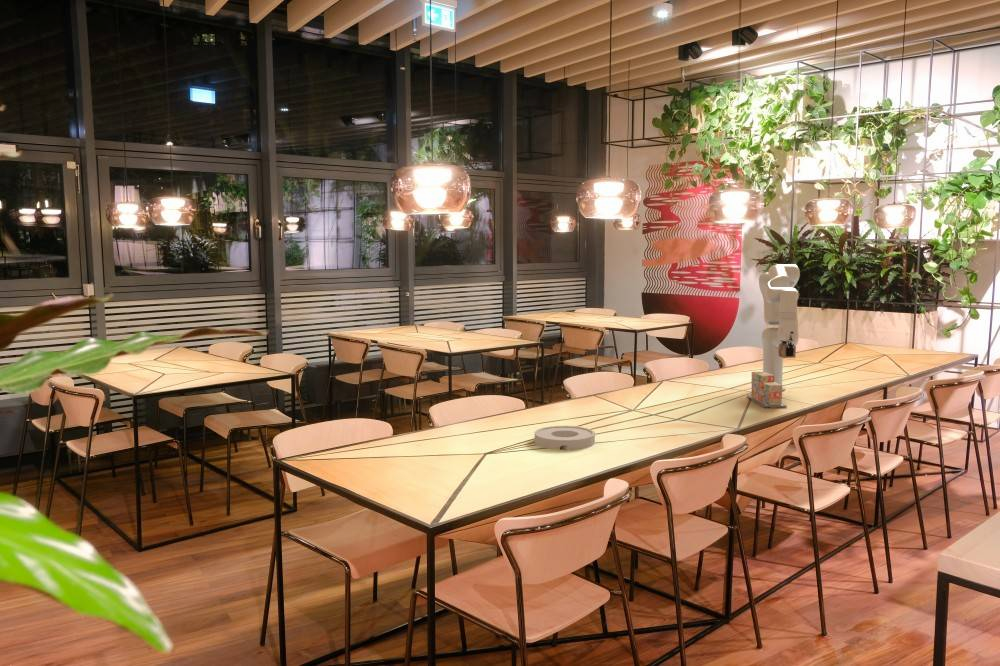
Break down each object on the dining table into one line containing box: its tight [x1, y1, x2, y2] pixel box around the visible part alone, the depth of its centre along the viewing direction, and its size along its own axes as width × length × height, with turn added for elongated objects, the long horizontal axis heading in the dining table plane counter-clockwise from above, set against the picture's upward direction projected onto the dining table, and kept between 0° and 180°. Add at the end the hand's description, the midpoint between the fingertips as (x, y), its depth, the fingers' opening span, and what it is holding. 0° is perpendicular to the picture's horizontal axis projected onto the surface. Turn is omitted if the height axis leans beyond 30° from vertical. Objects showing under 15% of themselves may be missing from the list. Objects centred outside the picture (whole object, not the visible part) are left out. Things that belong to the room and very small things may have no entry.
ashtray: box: [534, 425, 596, 451], centre depth 296 cm, size 23×23×4 cm
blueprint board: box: [746, 395, 788, 408], centre depth 363 cm, size 25×10×1 cm, turn 0°
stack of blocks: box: [750, 371, 783, 405], centre depth 362 cm, size 21×6×12 cm, turn 3°
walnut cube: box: [778, 344, 797, 359], centre depth 356 cm, size 6×6×6 cm
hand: (786, 354), depth 356 cm, fingers closed on walnut cube, 5 cm apart
